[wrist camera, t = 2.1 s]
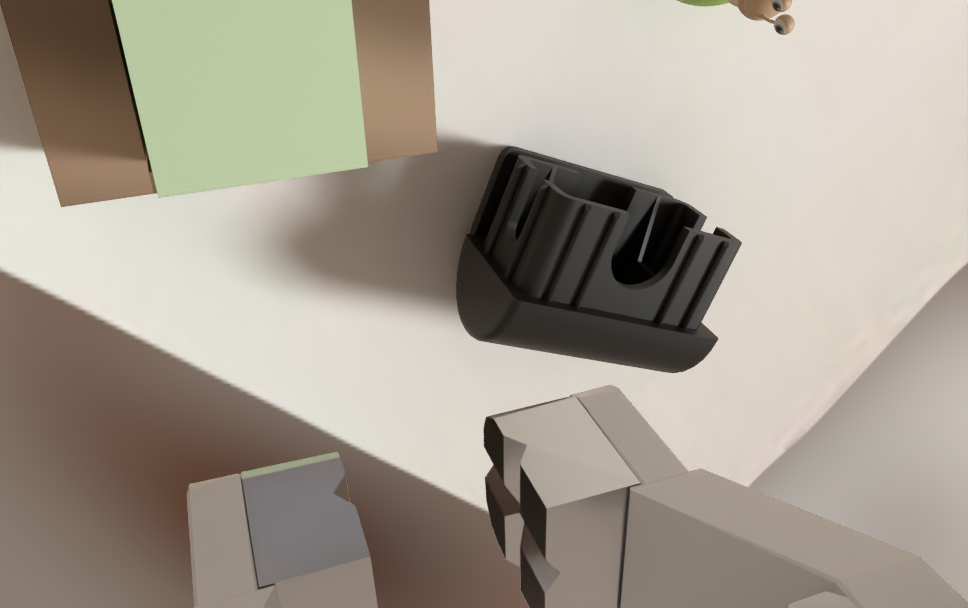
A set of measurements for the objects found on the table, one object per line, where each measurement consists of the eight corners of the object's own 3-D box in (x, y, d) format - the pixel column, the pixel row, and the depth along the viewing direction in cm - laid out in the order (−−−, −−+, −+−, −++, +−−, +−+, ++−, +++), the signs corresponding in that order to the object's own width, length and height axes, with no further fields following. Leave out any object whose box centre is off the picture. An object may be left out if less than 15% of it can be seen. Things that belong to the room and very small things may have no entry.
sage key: (109, -50, 24) (105, -29, 21) (320, -65, 26) (346, -47, 23) (156, 151, 27) (158, 197, 24) (342, 126, 29) (368, 167, 26)
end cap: (436, 288, 38) (486, 370, 33) (492, 139, 36) (557, 200, 30) (617, 324, 43) (689, 400, 37) (679, 193, 40) (766, 255, 35)
